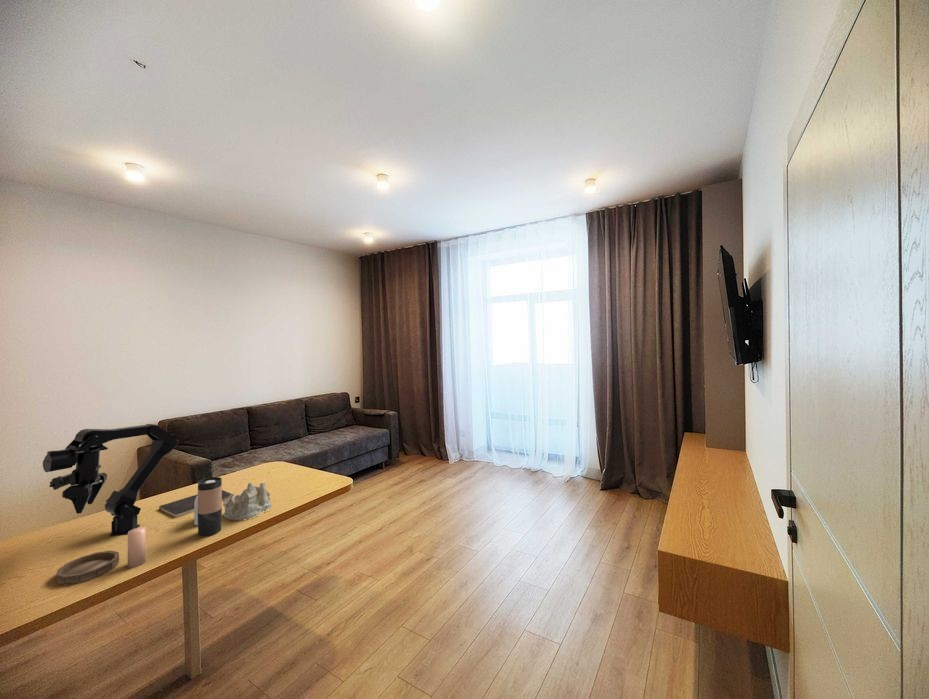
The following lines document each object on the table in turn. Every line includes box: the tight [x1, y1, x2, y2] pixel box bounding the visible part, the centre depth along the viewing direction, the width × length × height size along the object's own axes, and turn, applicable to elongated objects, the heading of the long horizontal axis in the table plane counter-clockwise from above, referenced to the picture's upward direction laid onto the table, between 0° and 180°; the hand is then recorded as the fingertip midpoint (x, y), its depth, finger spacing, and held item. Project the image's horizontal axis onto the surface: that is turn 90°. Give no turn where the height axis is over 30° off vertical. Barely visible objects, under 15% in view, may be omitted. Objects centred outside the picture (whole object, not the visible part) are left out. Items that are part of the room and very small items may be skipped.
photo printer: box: [193, 496, 198, 526], centre depth 146 cm, size 10×4×12 cm, turn 12°
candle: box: [127, 526, 147, 569], centre depth 116 cm, size 4×4×11 cm
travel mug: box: [197, 476, 223, 538], centre depth 136 cm, size 8×8×20 cm
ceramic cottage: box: [222, 481, 273, 521], centre depth 153 cm, size 16×16×15 cm
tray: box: [55, 550, 120, 585], centre depth 112 cm, size 14×14×2 cm
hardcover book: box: [158, 489, 232, 518], centre depth 161 cm, size 16×23×2 cm
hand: (84, 508), depth 126 cm, fingers open, 9 cm apart
